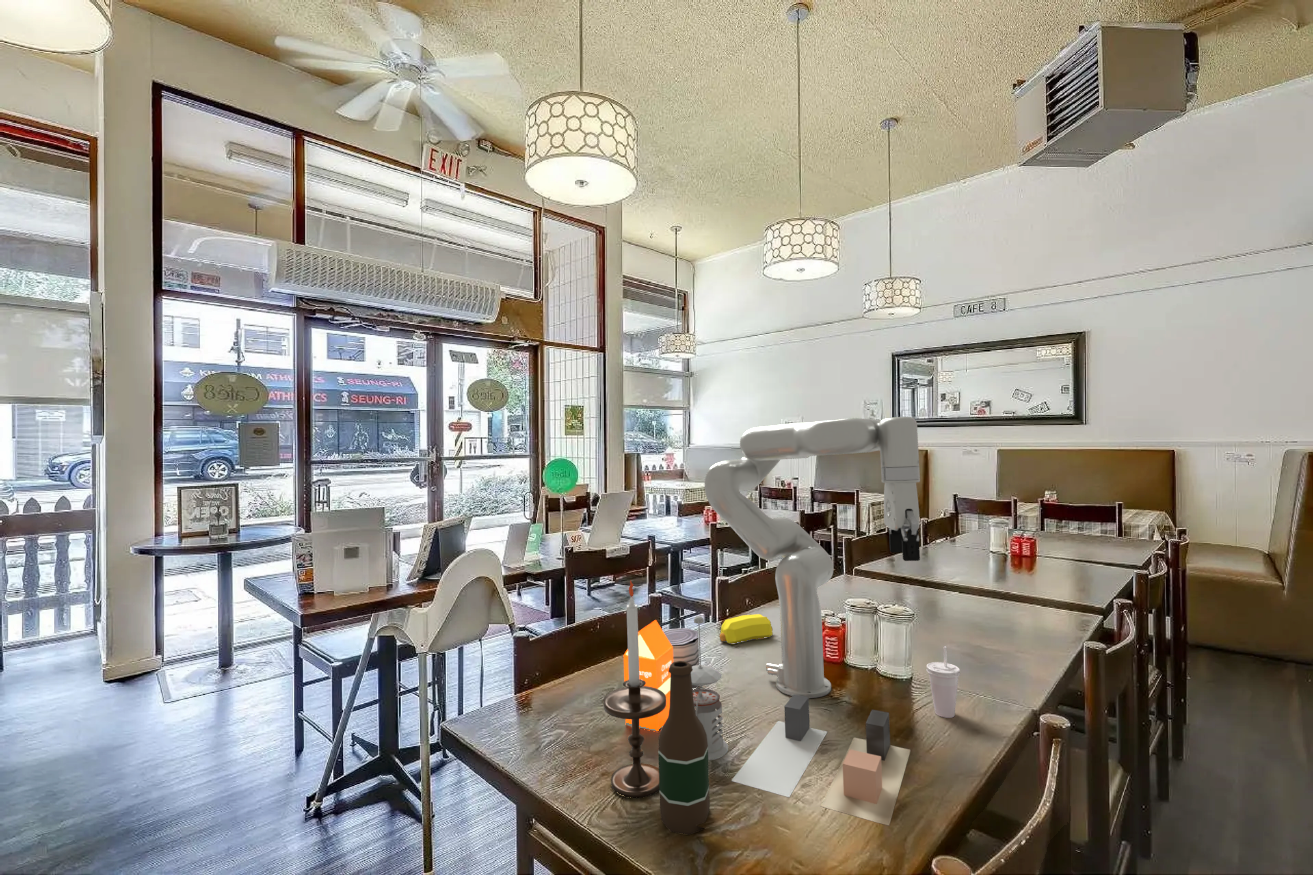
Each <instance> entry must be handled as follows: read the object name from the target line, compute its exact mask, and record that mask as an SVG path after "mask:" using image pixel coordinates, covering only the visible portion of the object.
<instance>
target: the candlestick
mask: <svg viewBox="0 0 1313 875" xmlns="http://www.w3.org/2000/svg"><path fill="white" fill-rule="evenodd" d="M633 588H634V583H632V579H630V581H629V587H628V593H629V602H628V604H626V628H627V633H626V634H627V649H628V669H629V680H627V681H625V682H622V686H623V687H619V688H616V689H614V690H611V691H610V692H608V693H607V694H606V695H605V696H604V698H603V710H604V712H605V713H606V714H608V715H609V716H610V717H614V718H617V719H622V720H623V719H632V727H631V734H630V735H629V736H628V737H627V741H628V744H629V745H630V746H631V750H630V751H629V753H628V754H629V756H630V757H631V758H632V763H628V764H625V765H622V766H621V767H619V768H617V769H616V770H615V771H614V772H613V773H612V775H611V777H610V786H611V785H612V787H611V789H612V788H613V789H614V790H615V791H616V792H618V793H619V794H621V795H624V796H625V797H624V798H626V797H629V798H628V799H644V798H647V797H648V798H649V797H650V796H653V795H655V794H656V792H657V793H658V792H659V767H657V766H655V765H653V764H649V763H643V762H641V758H642V757H643V756H644V750H643V749H642V746H643V743H644V741H645V736H644V735H643V734H642V733H641V731H640V730H641V729H640V727H639V719H642V718H647V717H651V716H654V715H656V714H658V713H660V712H661V711H663V710H664V708H665V707H666V696H665V694H664V693H663V692H662V691H661V690H659V689H656V688H653V687H648V686H644V685H645V684H646V682H645V681H644V680H641V679H640V677H639V644H638V632H639V621H638V620H639V617H638V616H639V615H638V614H639V613H638V604H636V603H635V600H634V589H633ZM613 789H612V790H613ZM630 797H631V798H630ZM643 797H644V798H643Z"/></svg>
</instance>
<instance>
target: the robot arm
mask: <svg viewBox="0 0 1313 875" xmlns="http://www.w3.org/2000/svg"><path fill="white" fill-rule="evenodd" d="M918 438H919V435H918V422H917V421H916V419H915V418H914V417H911V416H897V417H895V416H894V417H886V418H883V419H871V418H861V417H858V418H857V417H852V418H851V417H849V418H840V419H838V418H837V419H830V420H819V421H812V422H811V421H810V422H807V421H799V422H791V423H783V424H782V423H780V424H774V425H773V424H772V425H763V426H754V427H751V428H748V429H747V430H745V432H744V433H743V434H742V435H741V437H740V441H739V447H740V451H741V453H742V454H743V456H742V457H741V458H739V459H737V458H736V459H727V460H721V461H718V462H716V463H714V464H713V465H712V466H710V467H709V469H708V470H707V472H706V474H705V478H704V493H705V496H706V499H707V502H708V503H709V505H710V506H711V507H712V509H713V511H714V512H715V513H717V515H718V516H719V517H720V518H721V519H722V520H723V521H725V523H726V524H728V525H729V527H730V528H731V529H732V530H733V531H734V532H735V534H737V535H738V537H739V538H740V539H741V540H742V541H743V542H744V543H745V544H746V545H747V546H748V547H749V548H750V549H751V550H752V551H753V553H754V554H756V555H757V556H758V557H759V558H760V559H763V560H770V561H771V560H774V559H777V558H780V557H782V559H781V560H780V561H779V562H778V564H777V566H776V569H775V577H774V578H775V585H776V589H777V595H778V603H779V619H780V639H781V640H780V642H781V645H780V646H781V663H779V664H775V663H770V662H767V663H766V666H765V671H766V672H767V675H769V676H776V677H777V678H776V680H775V686H776V688H777V690H778V691H780V692H781V693H783V694H784V695H787V696H790V697H792V696H793V695H799V696H805V697H809V699H814V698H815V699H816V698H821V697H824V696H827V695H828V694H830V693H831V691H832V683H831V682H830V680H828V679H827V678H826V677H825V675H824V674H825V673H824V671H825V670H824V646H823V645H824V644H823V642H824V641H823V621H822V617H823V616H822V607H821V602H820V599H819V594H818V588H819V587H822V586H823V585H825V584H827V583H828V582H829V581H830V580H831V579H832V577H833V575H834V562H833V560H832V558H831V556H830V554H829V553H828V552H827V551H826V550H825V549H824V548H823V546H821V545H820V544H819V543H818V542H817V541H816V540H815V539H814V538H813V537H812V536H811V535H810V534H809V533H808V532H807V531H806V530H805V529H803V527H801V525H800V524H798V523H797V521H796V522H795V521H794V520H793V519H790V518H788V517H784V516H783V517H782V516H778V517H777V516H776V517H773V518H771V517H770V516H768V515H767V514H766V513H765V512H763V510H762V509H761V508H760V507H759V506H758V505H757V504H756V503H755V502H753V501H752V500H751V499H750V498H747V497H746V496H745V495H743V494H742V493H741V492H747V491H750V490H754V489H755V488H756V487H758V486H759V485H760V484H761V483H762V481H763V480H765V479H766V477H767V476H768V475H769V474H770V473H771V471H773V470H774V468H775V467H776V466H777V465H778V463H779V462H780V461H781V460H794V459H795V460H797V459H807V458H809V457H815V456H826V455H827V456H828V455H829V456H830V455H833V456H834V455H849V454H859V453H860V454H861V453H862V454H863V453H864V454H865V453H873V452H877V451H879V456H880V471H881V472H880V475H881V483H883V484H884V488H883V524H884V525H885V526H886V527H888V533H889V534H888V535H889V536H888V537H889V538H888V539H889V551H890V552H891V553H901V554H902V560H903V561H904V562H919V561H920V560H921V553H920V536H919V534H920V531H919V528H920V508H919V499H918V487H917V483H920V482H921V478H920V477H921V475H920V472H921V470H920V456H919V455H920V454H919V452H920V451H919V439H918Z"/></svg>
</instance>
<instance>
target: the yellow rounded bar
mask: <svg viewBox="0 0 1313 875" xmlns="http://www.w3.org/2000/svg"><path fill="white" fill-rule="evenodd" d="M720 627H721V628H720V633H719V640H720V641H721V642H723V641H727V642H726V643H727V644H730V643H737V642H741V641H745V642H748V641H747V640H749V641H752V640H751V639H756V640H759V639H758V638H764V637H769V638H770V637H772V636H773V634H774V632H773V626H772V622H771V621H770V619H769V618H768V617H767V616H763V615H762V614H760V613H756V614H744V615H743V614H742V615H739V616H735V617H732V618H731V617H730V618H728V619H725V620H724V622H723V623H722V625H721V626H720Z"/></svg>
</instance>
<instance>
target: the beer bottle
mask: <svg viewBox="0 0 1313 875" xmlns="http://www.w3.org/2000/svg"><path fill="white" fill-rule="evenodd" d="M692 670H693V669H692V666H691V664H690V663H688V662H685V661H677V662H673V663H672V664H671V665H670V667H669V671H668V672H670V673H671V678H670V708H669V715H668V718H667V720H666V722H665V723H664V725H663V727H662V729H661V730H660V731H659V736H658V745H657V746H658V747H657V749H658V750H657V755H658V768H659V791H658V792H659V811H660V820H661V822H662V823H663V825H664V826H665V828H667V829H668V830H669V832H670V833H674V834H682V835H686V836H690V835H692V834H696V833H698V832H701V831H703V830H706V829H705V827H702V826H699V825H701V824H703V823H706V821H707V819H708V816H709V812H710V809H711V807H710V806H711V802H710V801H711V800H710V799H711V798H710V774H709V772H710V771H709V770H710V767H709V760H708V742H707V734H706V732H705V729H704V727H703V724H702V723H701V722H700V720H699V719H698V717H697V716H696V713H695V710H696V707H694V701H693V690H692V680H691V672H692Z"/></svg>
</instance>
